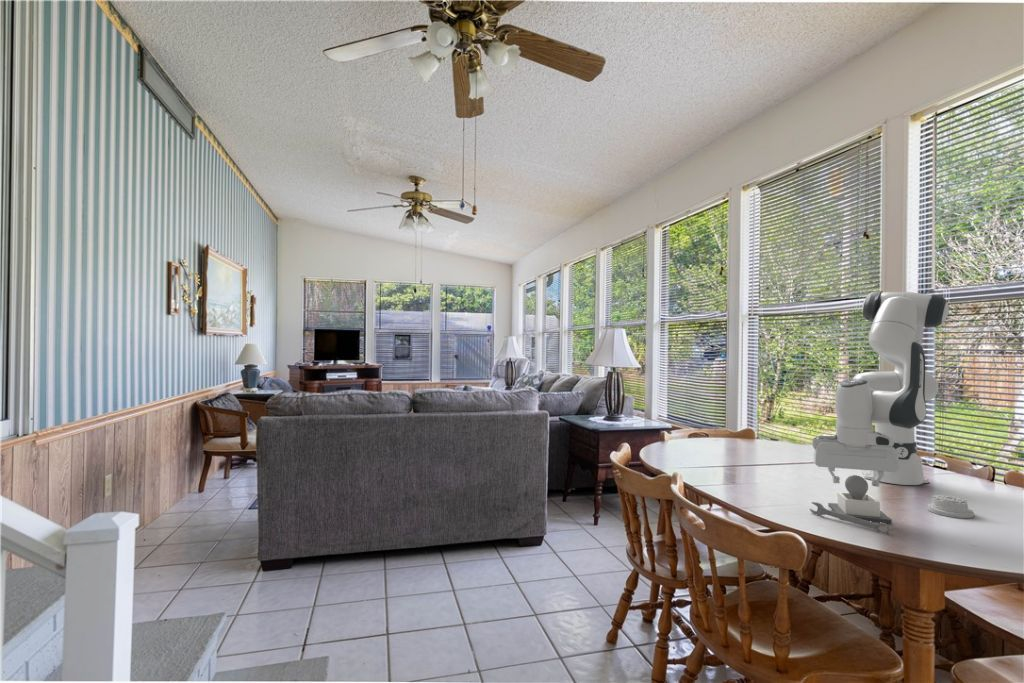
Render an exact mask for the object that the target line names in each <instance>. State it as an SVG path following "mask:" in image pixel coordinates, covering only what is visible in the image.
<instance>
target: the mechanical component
mask: <svg viewBox="0 0 1024 683" xmlns="http://www.w3.org/2000/svg"><path fill="white" fill-rule="evenodd" d="M968 505H969V504H968V500H966V499H964V498H961V497H957V496H953V495H948V494H945V495H944V494H937V495H936V494H934V495H932V503H927V511H929V512H931V513H934V514H937V515H939V516H945V517H950V518H958V519H972V518H974V517H975V511H973V510H972V509H970V508H969V506H968Z"/></svg>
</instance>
